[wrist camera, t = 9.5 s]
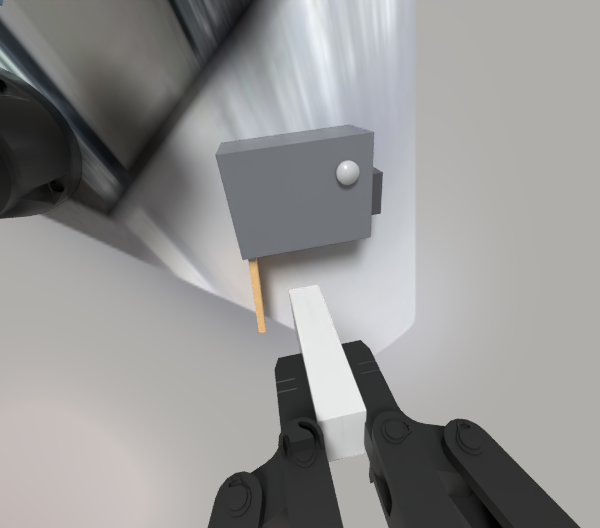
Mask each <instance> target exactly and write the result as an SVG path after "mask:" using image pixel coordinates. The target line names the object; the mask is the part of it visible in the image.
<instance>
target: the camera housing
mask: <svg viewBox="0 0 600 528" xmlns="http://www.w3.org/2000/svg"><path fill="white" fill-rule="evenodd" d="M373 150H374V132H372V131H369V130H365V129H362V128H358V127H355V126H351V125H345V126H337V127H330V128H323V129H316V130H309V131H302V132H295V133H288V134H281V135H274V136H267V137H260V138H253V139H246V140H239V141H231V142H224V143H221V145H220V147H219V149H218V151H217V153H216V159H217V163H218V167H219V170H220V174H221V178H222V182H223V186H224V190H225V194H226V198H227V201H228V205H229V209H230V213H231V217H232V221H233V225H234V229H235V232H236V236H237V240H238V244H239V248H240V252H241V256H242V260H246V259H251V258H257V257H263V256H268V255H274V254H279V253H285V252H291V251H296V250H302V249H308V248H313V247H319V246H324V245H330V244H336V243H341V242H347V241H352V240H358V239H364V238H369V237H371V215H375V214H381V195H382V176H383V172H381V171H379V170H378V169H376V168H374V167H373Z"/></svg>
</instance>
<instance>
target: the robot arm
mask: <svg viewBox="0 0 600 528" xmlns="http://www.w3.org/2000/svg"><path fill="white" fill-rule="evenodd" d="M2 3H3V0H0V5H1V6H2ZM81 173H82V160H81V154H80V150H79V147H78V144H77V141H76V139H75V137H74V135H73V133H72V131H71V129H70V127H69V126H68V124H67V122H66V121H65V119H64V118H63V117H62V115H61V114H60V113H59V112H58V110H57V109H56V108H55V107H54V106H53V105H52V104H51V103H50V102H49V101H48V100H47V99H46V98H45V97H44V96H43V95H42V94H41V93H40V92H39V91H37V90H36V89H35V88H34V87H32V86H31V85H30V84H28V83H27V82H25V81H24V80H22V79H21V78H19V77H18V76H16V75H14V74H12V73H10V72H9V71H7V70H5V69H3V68H0V219H2V218H14V217H25V216H32V215H37V214H40V213H43V212H46V211H49V210H51V209H53V208H54V207H56V206H58V205H59V204H61V203H63V202H64V201H66V200H67V199H68V198H69V197H70V196H71V195H72V194H73V193H74V192H75V190H76V188H77V187H78V184H79V182H80V178H81ZM289 295H290V301H291V307H292V313H293V319H294V325H295V331H296V336H297V340H298V345H299V350H300V354H296V355H290V356H286V357H281V358H278V361H277V364H276V367H275V378H276V387H277V397H278V406H279V416H280V425H281V433H280V435H279V444H278V446H279V447H278V449H277V452H276V453H275V454H274V456H273V457H272V458H271V459H270V460H269V461H267V462H266V463H265V464H263V465H262V466H260V467H259V468H257V469H256V470H254V471H253V472H251V473H248V472H239V473H235V474H233V475H232V476H230V477H229V478H227V479H226V480H225V482H224V483H223V485H221V487H220V488H219V491H218V493H217V496H216V498H215V502H214V506H213V509H212V513H211V517H210V521H209V525H208V528H343V524H342V520H341V516H340V511H339V507H338V502H337V498H336V494H335V489H334V485H333V480H332V476H331V472H330V467H329V463H328V462H331V461H335V460H339V459H343V458H347V457H351V456H355V455H359V454H363V453H365V449H366V452H367V455H368V457H369V461H370V468H369V469H370V470H369V478H370V483H373V481H374V484H375V487H376V490H377V494H378V497H379V500H380V503H381V506H382V509H383V512H384V515H385V518H386V521H387V524H388V527H389V528H580V527H579V526H578V525H577V524H576V523H575V522H574V521H573V520H572V519H571V518H570V517H569V516H568V514H567V513H566V512H564V510H562V508H561V507H560V506H559V505H558V504H557V503H556V502H555V501H554V500H553V499H552V498H551V497H550V496H549V495H548V494H546V492H545V491H544V490H543V489H542V488H541V487H540V486H539V485H538V484H537V483H536V482H535V481H534V480H533V479H532V478H531V477H530V476H529V475H528V474H527V473H526V472H525V471H524V470H523V469H522V468H521V467H520V466H519V465H518V464H517V463H516V462H515V461H514V460H513V459H512V458H511V457H510V456H509V455H508V454H507V453H506V452H505V451H504V450H503V448H502V447H501V446H499V444H498V443H497V442H496V441H495V440H494V439H493V438H492V437H491V436H490V435H489V434H488V433H487V432H486V431H485V430H483V429H482V428H481V427H480V426H478V425H477V424H475V423H473V422H471V421H469V420H465V419H455V420H451V421H450V422H449V423H448V424H447V425H446V426H439V425H430V424H423V423H419V422H416V421H414V420H412V419H410V418H409V417H408V416H406V415H405V414H404V413H403V412H402V411H401V410H400V408H399V407H398V406H397V403H396V401H395V399H394V397H393V395H392V393H391V391H390V389H389V387H388V385H387V383H386V381H385V379H384V377H383V375H382V373H381V371H380V369H379V367H378V365H377V363H376V361H375V359H374V356H373V354H372V352H371V350H370V348H368V347H367V346H366V345H365V344H364V343H363V342H362V341H361V340H359V341H354V342H349V343H344V344H341V343H340V340H339V337H338V335H337V332H336V330H335V327H334V324H333V322H332V319H331V317H330V314H329V311H328V309H327V306H326V304H325V301H324V298H323V296H322V293H321V290H320V288H319V285H312V286H307V287H302V288H297V289H291V290H289Z"/></svg>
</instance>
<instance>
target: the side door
mask: <svg viewBox="0 0 600 528" xmlns="http://www.w3.org/2000/svg"><path fill="white" fill-rule="evenodd" d="M248 260H249V267H250V274H251V281H252V288H253V295H254V302H255V308H256V315H257V322H258V329H259V333H263V332H265V319H264V308H263V300H262V292H261V284H260V276H259V268H258V260H257V258H251V259H248Z"/></svg>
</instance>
